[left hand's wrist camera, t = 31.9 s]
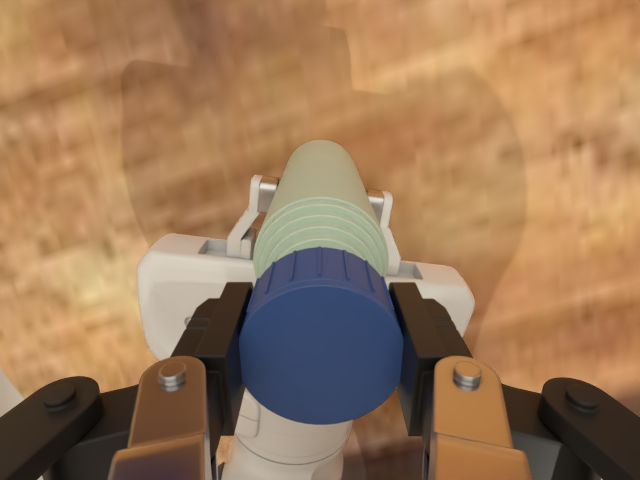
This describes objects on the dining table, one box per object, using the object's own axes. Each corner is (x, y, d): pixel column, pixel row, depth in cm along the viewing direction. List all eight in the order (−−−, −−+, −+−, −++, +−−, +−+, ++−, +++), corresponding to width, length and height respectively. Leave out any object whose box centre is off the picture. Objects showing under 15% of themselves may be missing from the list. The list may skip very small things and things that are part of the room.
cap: (402, 249, 11) (421, 288, 9) (383, 372, 13) (396, 431, 11) (249, 239, 11) (232, 277, 9) (249, 365, 13) (235, 423, 11)
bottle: (367, 156, 29) (454, 296, 10) (338, 219, 31) (366, 436, 12) (301, 127, 28) (264, 219, 10) (275, 193, 30) (198, 380, 11)
